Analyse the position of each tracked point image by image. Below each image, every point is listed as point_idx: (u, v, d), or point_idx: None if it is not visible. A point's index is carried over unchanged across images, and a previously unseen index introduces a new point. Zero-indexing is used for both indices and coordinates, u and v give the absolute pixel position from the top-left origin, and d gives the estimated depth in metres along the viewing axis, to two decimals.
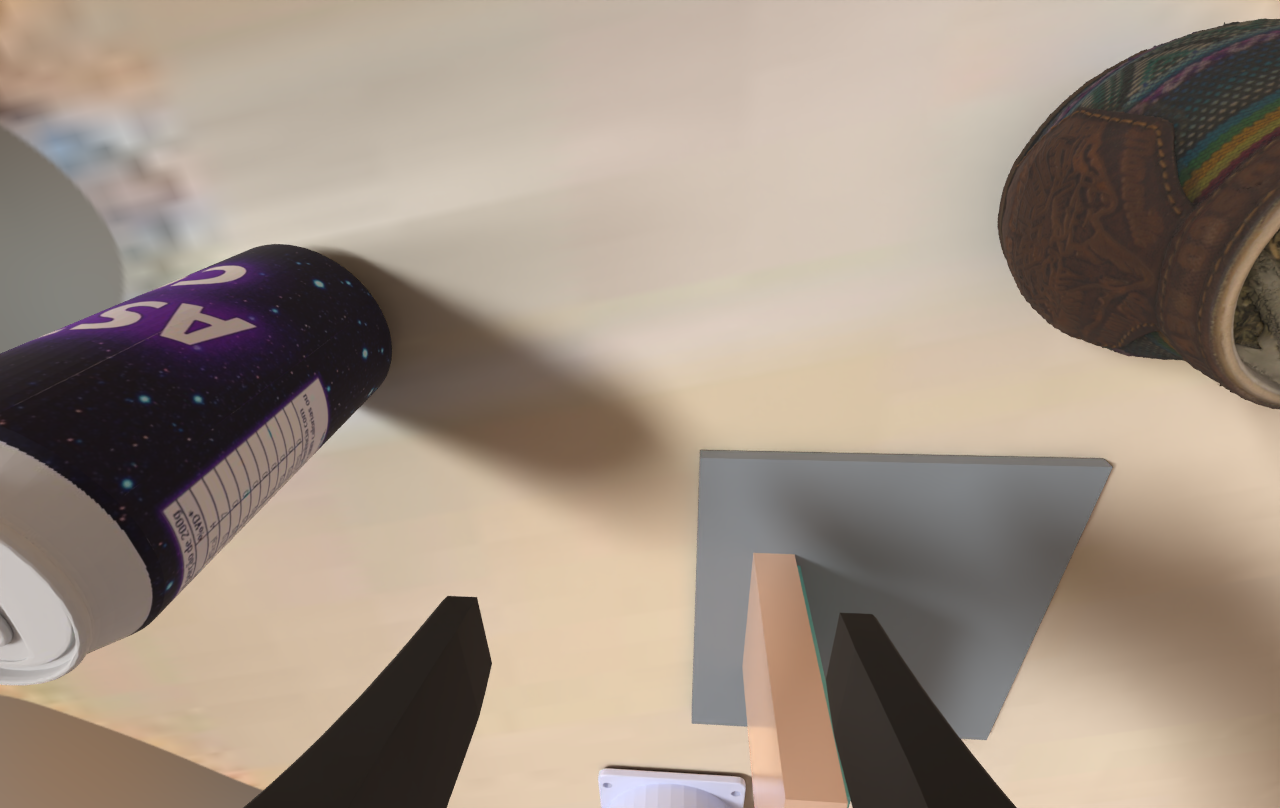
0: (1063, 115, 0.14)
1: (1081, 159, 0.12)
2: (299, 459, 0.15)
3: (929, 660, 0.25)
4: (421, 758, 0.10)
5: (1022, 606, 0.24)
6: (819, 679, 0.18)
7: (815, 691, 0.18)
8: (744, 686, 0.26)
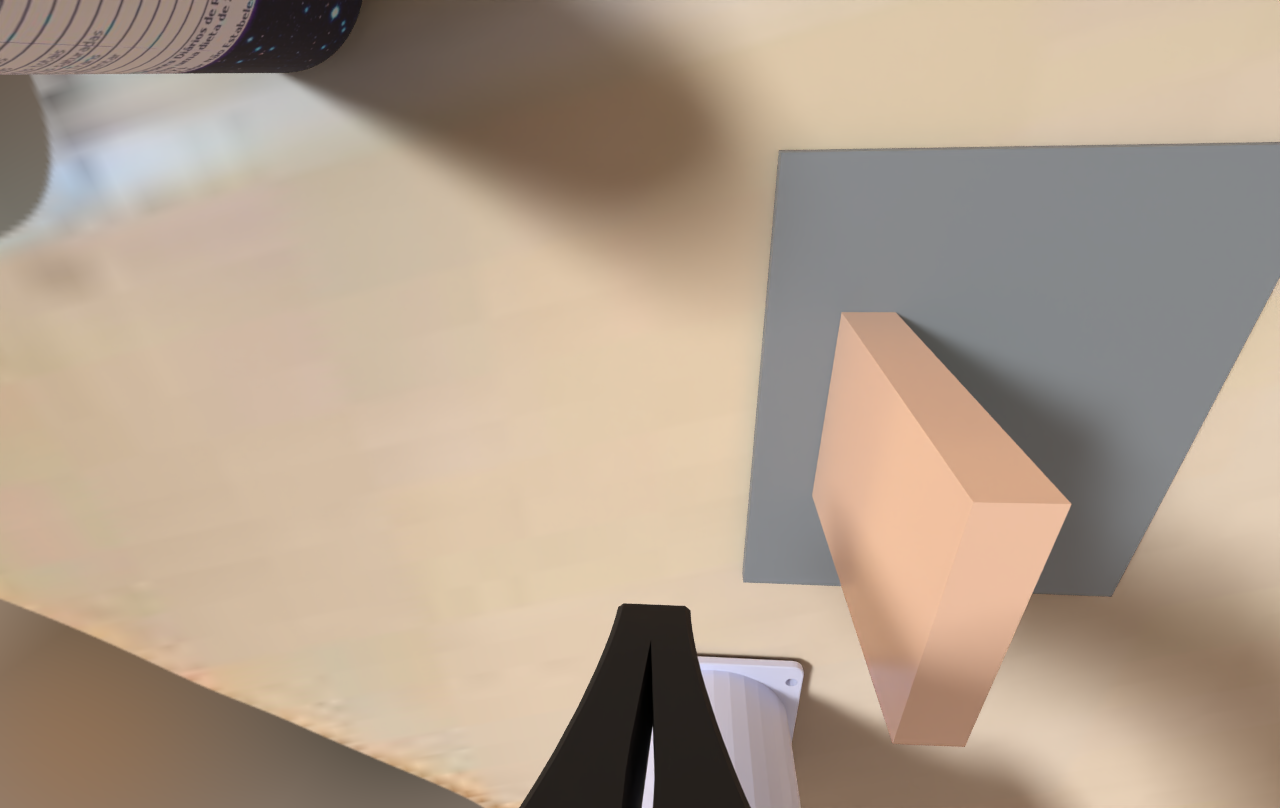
0: None
1: None
2: None
3: (1054, 477, 0.20)
4: (635, 772, 0.09)
5: (1188, 386, 0.18)
6: (973, 400, 0.13)
7: (973, 409, 0.13)
8: (819, 511, 0.20)
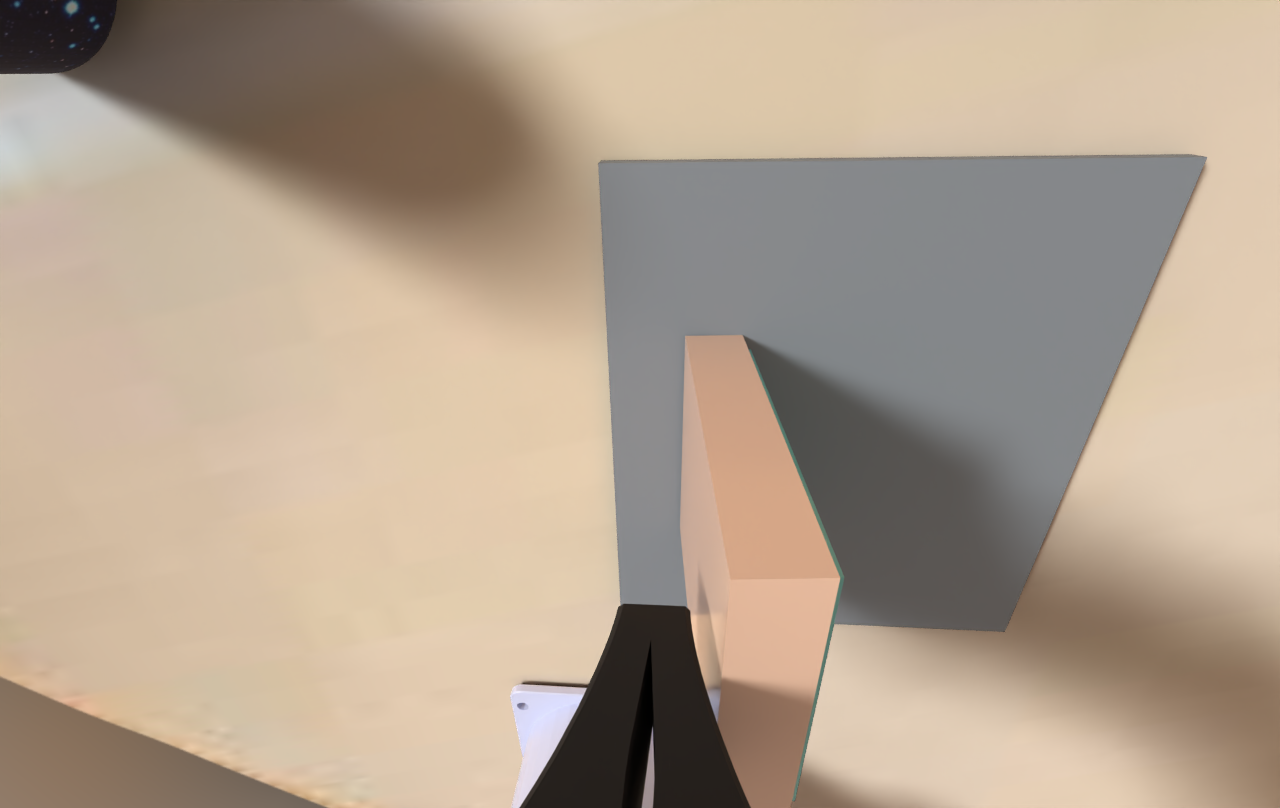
0: None
1: None
2: None
3: (930, 508, 0.19)
4: (635, 772, 0.09)
5: (1061, 415, 0.17)
6: (782, 443, 0.12)
7: (777, 454, 0.11)
8: (682, 546, 0.19)
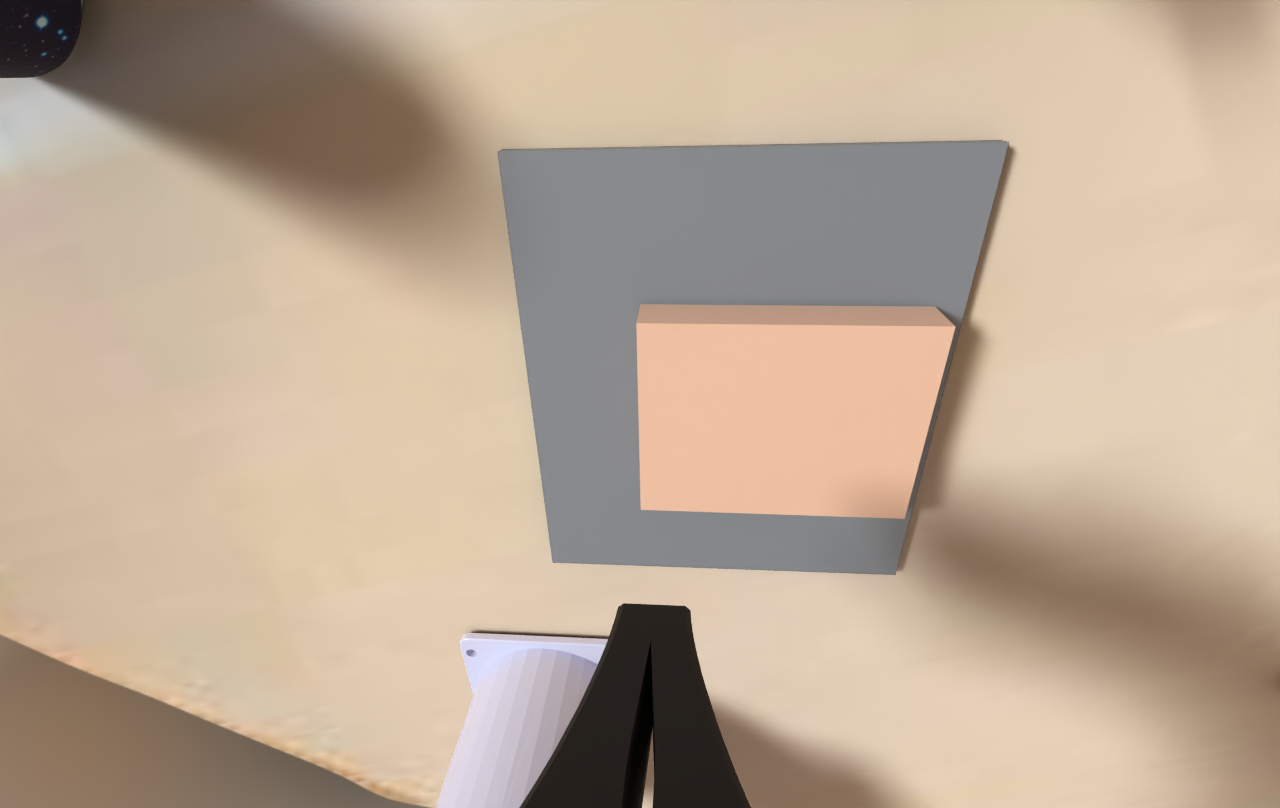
0: None
1: None
2: None
3: None
4: (635, 772, 0.09)
5: None
6: (815, 306, 0.18)
7: (831, 308, 0.18)
8: (671, 506, 0.20)
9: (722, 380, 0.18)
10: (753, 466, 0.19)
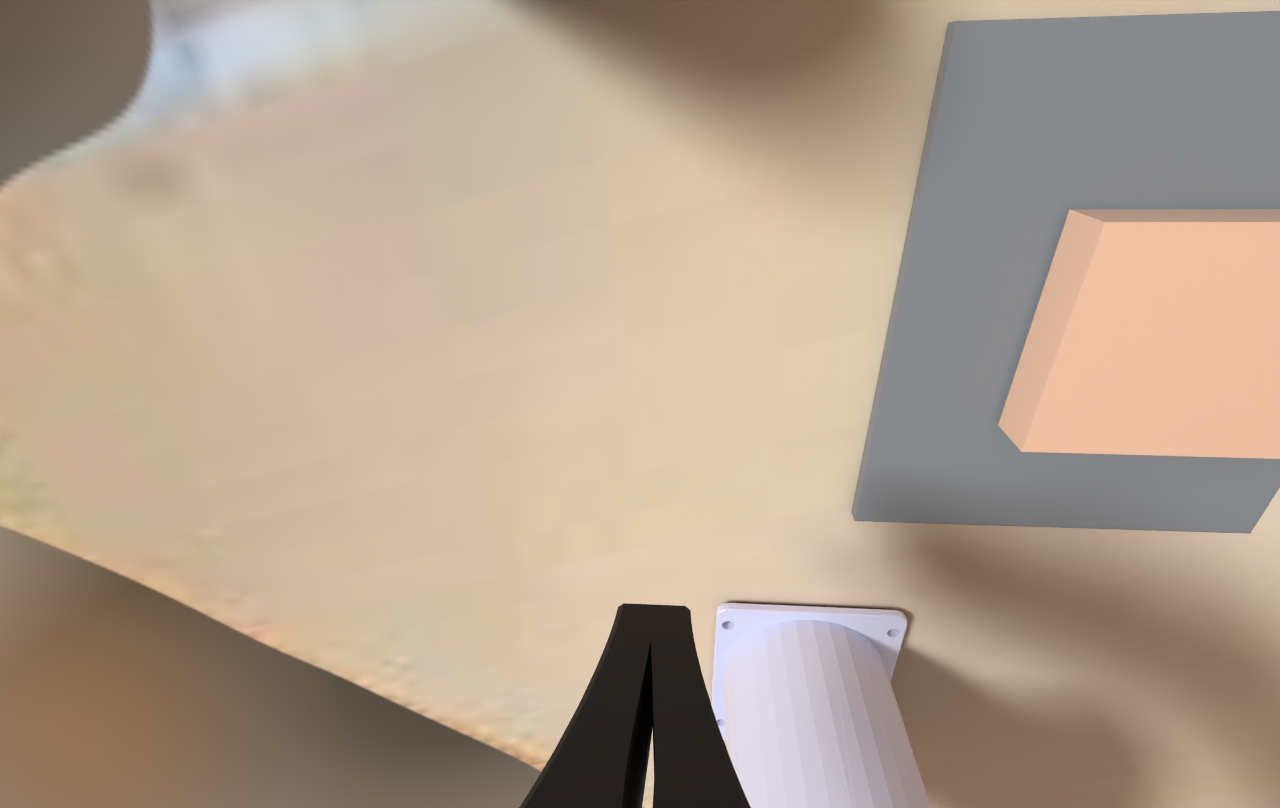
0: None
1: None
2: None
3: None
4: (635, 772, 0.09)
5: None
6: None
7: None
8: (1059, 447, 0.18)
9: (1182, 292, 0.16)
10: (1177, 398, 0.17)
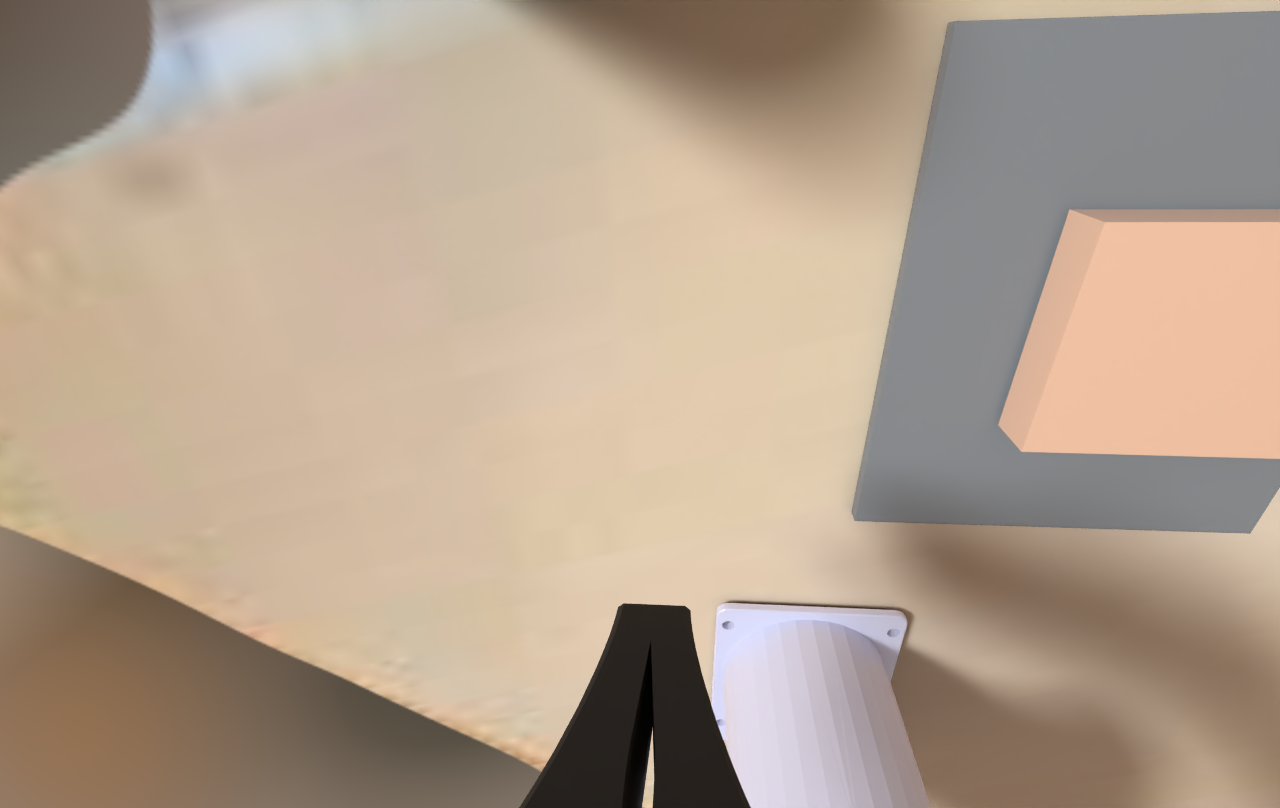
0: None
1: None
2: None
3: None
4: (635, 772, 0.09)
5: None
6: None
7: None
8: (1059, 447, 0.18)
9: (1182, 292, 0.16)
10: (1177, 398, 0.17)
